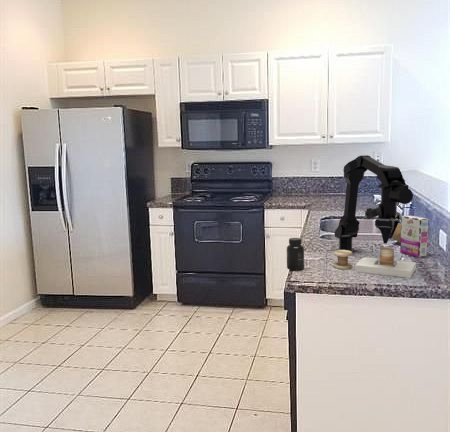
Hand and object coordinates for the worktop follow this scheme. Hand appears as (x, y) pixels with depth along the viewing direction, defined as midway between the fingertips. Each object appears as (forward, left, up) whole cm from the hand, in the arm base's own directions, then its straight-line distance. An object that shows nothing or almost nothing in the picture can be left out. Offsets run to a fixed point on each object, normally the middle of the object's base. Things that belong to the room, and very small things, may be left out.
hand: (387, 241), depth 184 cm
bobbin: (+4, -16, -11) cm, 20 cm away
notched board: (+2, 0, -11) cm, 11 cm away
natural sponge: (-45, -2, -11) cm, 46 cm away
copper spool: (0, 0, -11) cm, 11 cm away
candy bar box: (-27, +6, -11) cm, 30 cm away
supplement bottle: (+14, -32, -11) cm, 37 cm away
